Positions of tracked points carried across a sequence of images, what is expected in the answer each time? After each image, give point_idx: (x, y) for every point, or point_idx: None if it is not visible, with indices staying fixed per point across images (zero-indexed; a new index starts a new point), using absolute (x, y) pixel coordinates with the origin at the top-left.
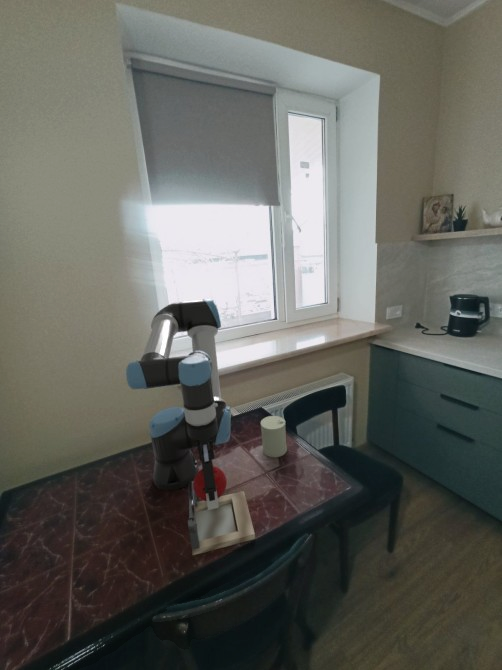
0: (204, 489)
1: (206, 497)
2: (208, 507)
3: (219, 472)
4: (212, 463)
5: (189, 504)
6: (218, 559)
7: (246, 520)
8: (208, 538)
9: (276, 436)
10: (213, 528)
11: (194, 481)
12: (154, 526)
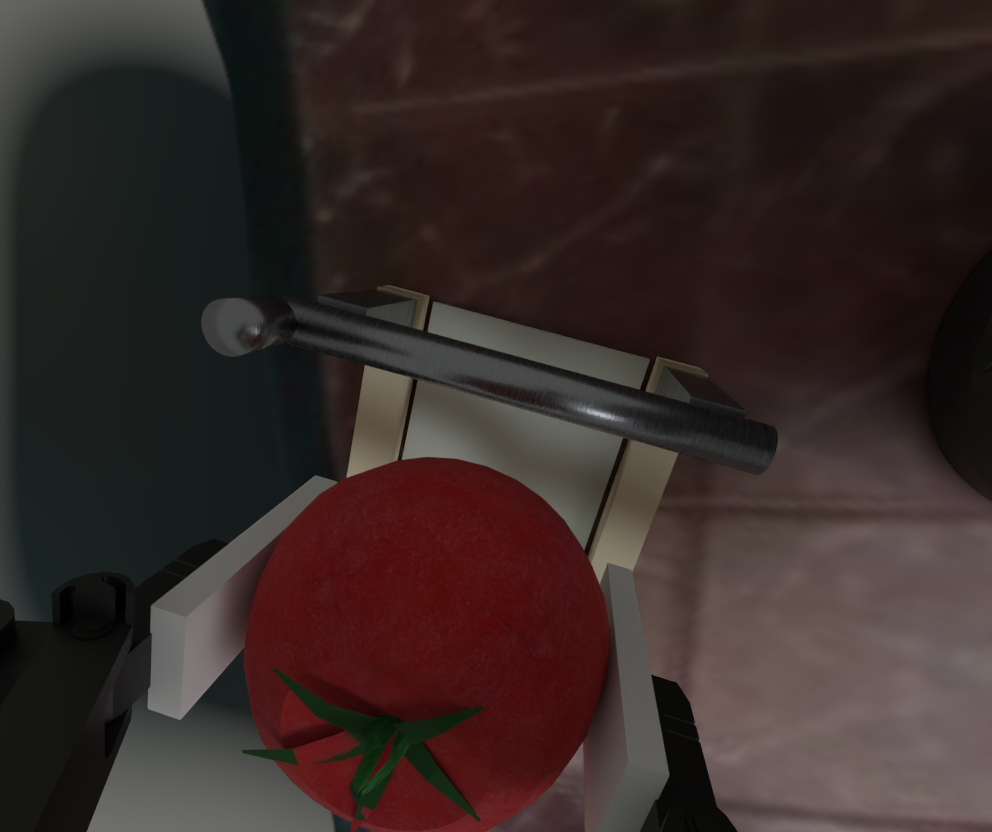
0: (61, 608)
1: (240, 537)
2: (300, 490)
3: (348, 820)
4: (585, 823)
5: (507, 364)
6: (321, 389)
7: None
8: (435, 386)
9: None
10: (478, 429)
11: (435, 529)
12: (706, 98)
